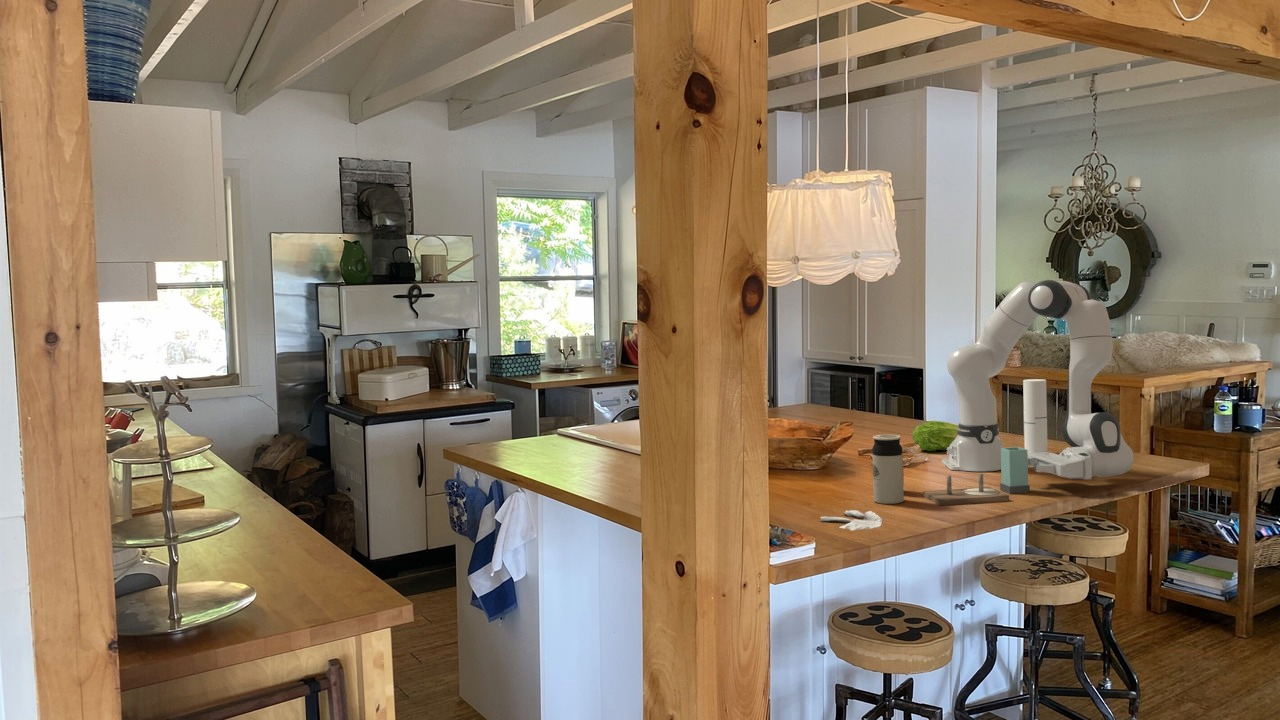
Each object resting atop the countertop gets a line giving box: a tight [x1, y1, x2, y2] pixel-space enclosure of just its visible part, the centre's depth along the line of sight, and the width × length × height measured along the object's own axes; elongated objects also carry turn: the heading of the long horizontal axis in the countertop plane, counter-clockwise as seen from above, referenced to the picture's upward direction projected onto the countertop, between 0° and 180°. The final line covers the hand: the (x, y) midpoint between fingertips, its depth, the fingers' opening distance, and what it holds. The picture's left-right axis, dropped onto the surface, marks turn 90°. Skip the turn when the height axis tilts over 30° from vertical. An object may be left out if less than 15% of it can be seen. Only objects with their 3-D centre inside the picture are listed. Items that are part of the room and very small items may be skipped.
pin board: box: [923, 473, 1010, 506], centre depth 269 cm, size 12×19×6 cm, turn 95°
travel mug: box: [871, 434, 905, 505], centre depth 270 cm, size 8×8×18 cm
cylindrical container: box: [1022, 378, 1049, 454], centre depth 332 cm, size 7×7×25 cm
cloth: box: [819, 509, 884, 531], centre depth 252 cm, size 20×22×2 cm
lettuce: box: [912, 420, 959, 452], centre depth 349 cm, size 12×24×13 cm
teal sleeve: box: [999, 446, 1031, 495], centre depth 276 cm, size 6×6×12 cm
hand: (1027, 465), depth 276 cm, fingers open, 8 cm apart
